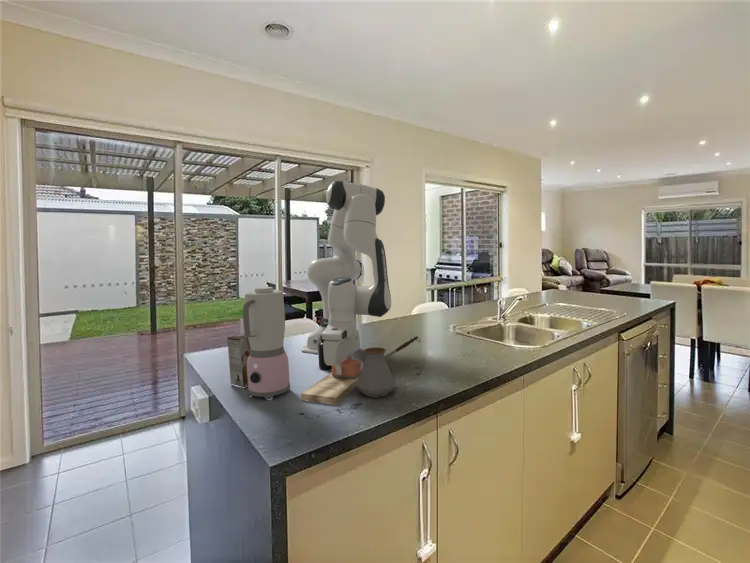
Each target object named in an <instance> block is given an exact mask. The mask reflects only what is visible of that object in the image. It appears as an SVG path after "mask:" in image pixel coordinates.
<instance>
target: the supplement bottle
mask: <svg viewBox="0 0 750 563" xmlns="http://www.w3.org/2000/svg"><path fill="white" fill-rule="evenodd" d="M320 341H321V342H320V343H319V344H318V354H317V355H318V356H317V357H318V368H319V369H320V370H322V371H323V370H324V371H332V366H331V365H326V364H325V362H324V353H323V343H324V341H325V340H323V339H322V335H320Z"/></svg>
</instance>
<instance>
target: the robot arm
mask: <svg viewBox="0 0 750 563" xmlns="http://www.w3.org/2000/svg"><path fill="white" fill-rule="evenodd" d="M325 196H326V198H325V199H326V204H327V205H328V207H329V208H331V209H333V210H334V211H333V213H332V217H331V222H330V225H329V231H328V235H327V243H328V244H329V246H330V247H331V248H332V249H333V256H332V257H324V258H323V257H322V258H317V259H315V260H312V261H311V262H309V265H308V266H307V269H306V270H307V278H308V280H309V281H310V282H311V283H312V284H313V285H314V286H315V287H316V288H317V289H318V291H319V294H320V296H321V301H322V302H321V303H322V311H323V317H321V318H320V319H318V321H317V322H318V323H319V326H318V327H317V328H316V329H315V330H313V331H312V332H311V333H310V334H309V335H308V337H307V339H306V345H304V346H302V348H301V352H302V353H307V354H308V353H309V354H313V355H314V354H315V355H318V344H319V343H320V342H321V341H320V335H322V339H323V340H325V341H324V343H323V353H324V362H325V364H326V365H331V366H335V368H336V374H337V375H341V374H343V368H342V366H341V364H342V361H343V360H345V359H354V354H355V353H356V352H358V351H360V347H361V340H360V339H361V338H360V333H359V330H358V329H357V316H356V315H358V316H360V315H361V316H362V315H363V316H370V317H371V316H372V317H379V318H381V317H383V316H385V315H386V314H387V313H388V312H390V309H391V307H392V297H391V296H392V295H391V291H390V287H389V277H388V264H387V257H386V250H385V245H384V243H383V241H382V239H379V237H378V235H377V228H376V227H377V216H378V215H380V214H382V212H383V210H384V208H385V204H386V203H385V202H386V195H385V193H384V191H383V190H381V189H380V188H376V187H371V186H369V185H366V184H363V183H355V182H354V183H353V182H346V181H344V182H343V181H342V180H334V181H332V182H331V183H329V186H328V187H327V190H326V195H325ZM355 252H358V253H361V254H364V255H366V256H367V257H369V258H370V260H371V264H372V276H373V283H372V284H373V285H370V286H368V285H355V283H354V281H355V280H357V279H358V278H360V275H361V270H362V267H361V264H360V262H359V260H358V259H357V257H356V253H355Z"/></svg>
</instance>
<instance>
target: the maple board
mask: <svg viewBox="0 0 750 563" xmlns="http://www.w3.org/2000/svg"><path fill="white" fill-rule="evenodd" d="M358 378H359V376H358V377H356V378H345V377H334V376H332V371H331V372H330V373H329V374H327V375H325V376H324V377H323V378H321V379H320V380H319V381H317V382H316V383H315V384H313V385H311V386H310V387H308V388H306V390H304V391H303V392H301V393H300V400H301V401H302V400H308V401H307V402H310V401H314V402H313V403H318V402H323V403H322V404H326V403H330V404H329V405H335V404H336V405H338V404H339V403H340V402H341V401H342V400H344V398H345V397H347V396H348V395H350V394H351V392H352V391H353V390H354V389H356V388H358V387H357V381H358ZM339 401H340V402H339ZM338 402H339V403H338ZM337 403H338V404H337Z"/></svg>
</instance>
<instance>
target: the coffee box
mask: <svg viewBox="0 0 750 563" xmlns="http://www.w3.org/2000/svg"><path fill="white" fill-rule="evenodd" d="M227 351H228V352H227V353H228V363H229V365H228V366H229V376H230V385H231V384H234V385H238V386H241V387H246V386H248V376H247V360H248V357H249V355H250V351H251V348H250V343H249V339H248V337H247V336H246V335H245V333H243V332H242V333H240V334H239V333H238V334H236V335H231V336H228V337H227Z"/></svg>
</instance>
